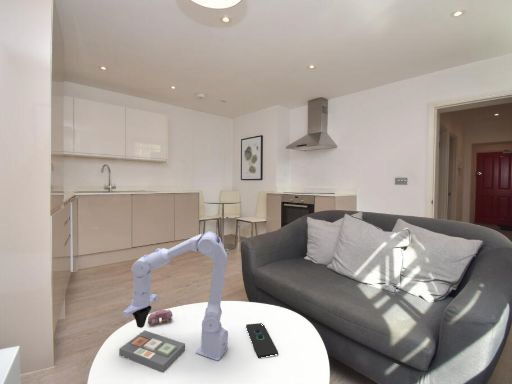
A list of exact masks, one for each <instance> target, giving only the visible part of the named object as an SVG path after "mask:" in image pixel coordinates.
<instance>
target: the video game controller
mask: <svg viewBox="0 0 512 384" xmlns="http://www.w3.org/2000/svg"><path fill="white" fill-rule="evenodd" d="M171 318H173V311H172V310H170V309H167V310H166V309H159V310H157V311H154V312H153V311H152V313H150V314H149V315H148V316H147V322H148V323H153V324H155V325H156V324H159V323H160V319H161V322H162V323H166V322H167V321H168V320H170V319H171Z"/></svg>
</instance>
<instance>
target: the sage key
mask: <svg viewBox="0 0 512 384" xmlns="http://www.w3.org/2000/svg"><path fill="white" fill-rule="evenodd" d="M175 350H176V346H174V345H171V344H168V343H165V344H164V345H163V346H162V347H161V348H159V349H158V350H157V354H160V355H163V356H165V357H169V356H170V355H171V354H172V353H173V352H174V351H175Z"/></svg>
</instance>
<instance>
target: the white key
mask: <svg viewBox="0 0 512 384" xmlns="http://www.w3.org/2000/svg"><path fill="white" fill-rule="evenodd" d="M160 346H162V341H159V340H156V339H153V338H152V339H151V340H150V341H149V342H147V343H146V344H145V345H144V349H146V350H149V351H152V352H155V351H156V350H157V349H158V348H159V347H160Z"/></svg>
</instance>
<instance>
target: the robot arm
mask: <svg viewBox="0 0 512 384" xmlns="http://www.w3.org/2000/svg"><path fill="white" fill-rule="evenodd" d="M189 251H192V252H194V253H198V252H199V253H201V254H202V255H204V256H206V257H207V258H209V259H210V260H211V261H212V262H213V266H212V272H211V280H210V287H209V295H208V300H207V301H208V302H207V305H206V306H207V307H206V308H205V312H204V317H203V320H202V322H201V339H200V340H201V341H200V346H199V348H197V350H196V351H195V353H196V354H198V355H200V356H203V357H206V358H207V359H211V360H214V361H217V362H218V361H220V359H221V358H222V357H223V356H224V354H225V353H226V351H227V350H228V349H229V346H228V340H229V339H228V338H229V332H228V330H227V329H225V328H223V326H222V323H221V316H222V315H223V314H222V313H223V311H222V308H221V302H222V296H223V287H224V282H225V281H224V280H225V274H226V268H227V261H228V254H227V251H226V250H225V247H224V244H223V243H222V240H221V237H220V236H219V235H217V233H215V232H213V231H211V230H210V231H208V230H207V231H206V232H204V233H201V234H197V235H195V236H193V237H191V238H189V239H187V240H185V241H183V242H180V243H179V244H177V245H175V246H172V247H171V248H164V247H163V248H160V247H158V248H156V249H155V251H154V252H151V253H149V254H147V253H146V254H144V255H143V256H141V257H140V258H139V259H137V260H136V261H135V262H134V263H132V265H131V268H130V270H131V273H132V275H133V281H132V283H133V285H132V300H131V304H129V306H127V308H125V309H124V310H123V311H122V316H123V317H124V318H129V317H130V315H132V316H133V317H134V319H135V323H136V327H137V328H139V329H143V327H145V325H146V322H147V319H148V317H149V315H150V314H149V313H150V311H152V306H151V304H152V303H153V302H154V301H157V300H158V294H155V293H152V294H151V280H152V279H151V274H152V273H151V271H154V270H156V269H158V268H161V267H163V266H165V265H167V264H169V263H170V262H171V260H172V258H174V257H177V256H180V255H181V254H184V253H186V252H189Z"/></svg>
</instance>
